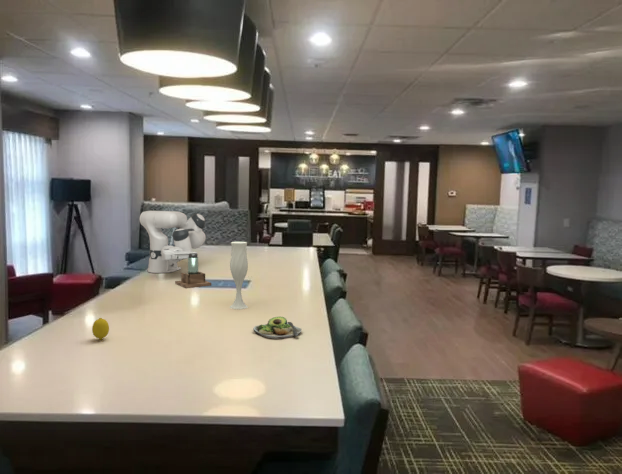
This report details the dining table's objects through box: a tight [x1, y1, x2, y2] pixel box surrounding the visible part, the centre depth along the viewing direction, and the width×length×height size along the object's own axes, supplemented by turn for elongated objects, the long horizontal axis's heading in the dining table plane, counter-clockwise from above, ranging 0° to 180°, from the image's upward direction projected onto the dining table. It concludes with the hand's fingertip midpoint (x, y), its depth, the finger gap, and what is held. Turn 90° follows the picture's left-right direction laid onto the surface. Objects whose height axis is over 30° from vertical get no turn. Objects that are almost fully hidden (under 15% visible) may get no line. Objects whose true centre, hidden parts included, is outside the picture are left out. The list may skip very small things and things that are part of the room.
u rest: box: [174, 270, 212, 289], centre depth 284 cm, size 15×15×6 cm
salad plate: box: [253, 316, 302, 340], centre depth 193 cm, size 19×18×5 cm
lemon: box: [91, 317, 110, 341], centre depth 181 cm, size 6×6×8 cm
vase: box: [229, 241, 249, 310], centre depth 232 cm, size 9×8×30 cm
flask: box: [187, 252, 199, 275], centre depth 283 cm, size 6×6×16 cm
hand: (185, 256), depth 292 cm, fingers open, 8 cm apart
